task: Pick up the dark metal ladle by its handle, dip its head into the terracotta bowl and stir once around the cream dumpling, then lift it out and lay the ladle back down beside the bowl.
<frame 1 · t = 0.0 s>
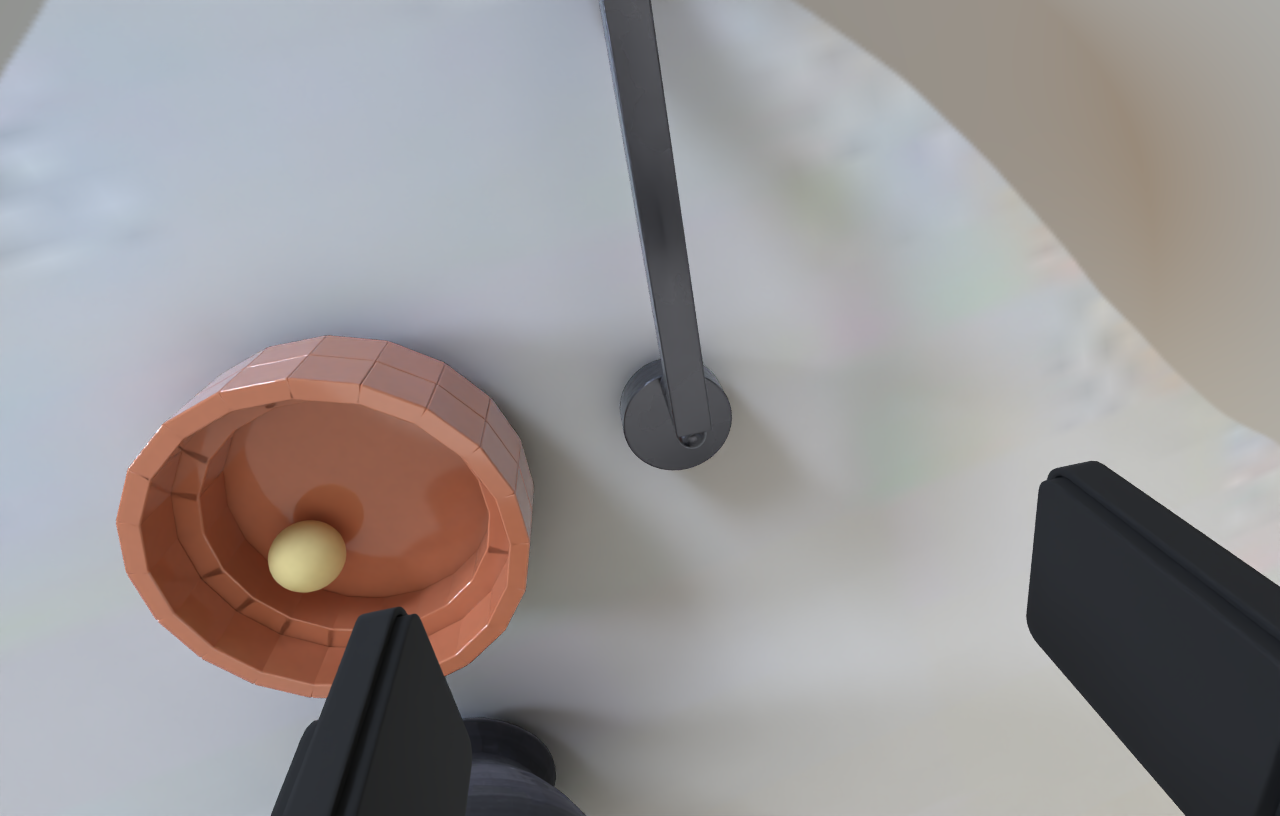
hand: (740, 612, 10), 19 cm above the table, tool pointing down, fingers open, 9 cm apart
ladle: (671, 405, 30), on the table
pitcher: (504, 774, 39), on the table
bowl: (366, 488, 30), on the table
dumpling: (307, 556, 29), point 2 cm above the table, touching bowl
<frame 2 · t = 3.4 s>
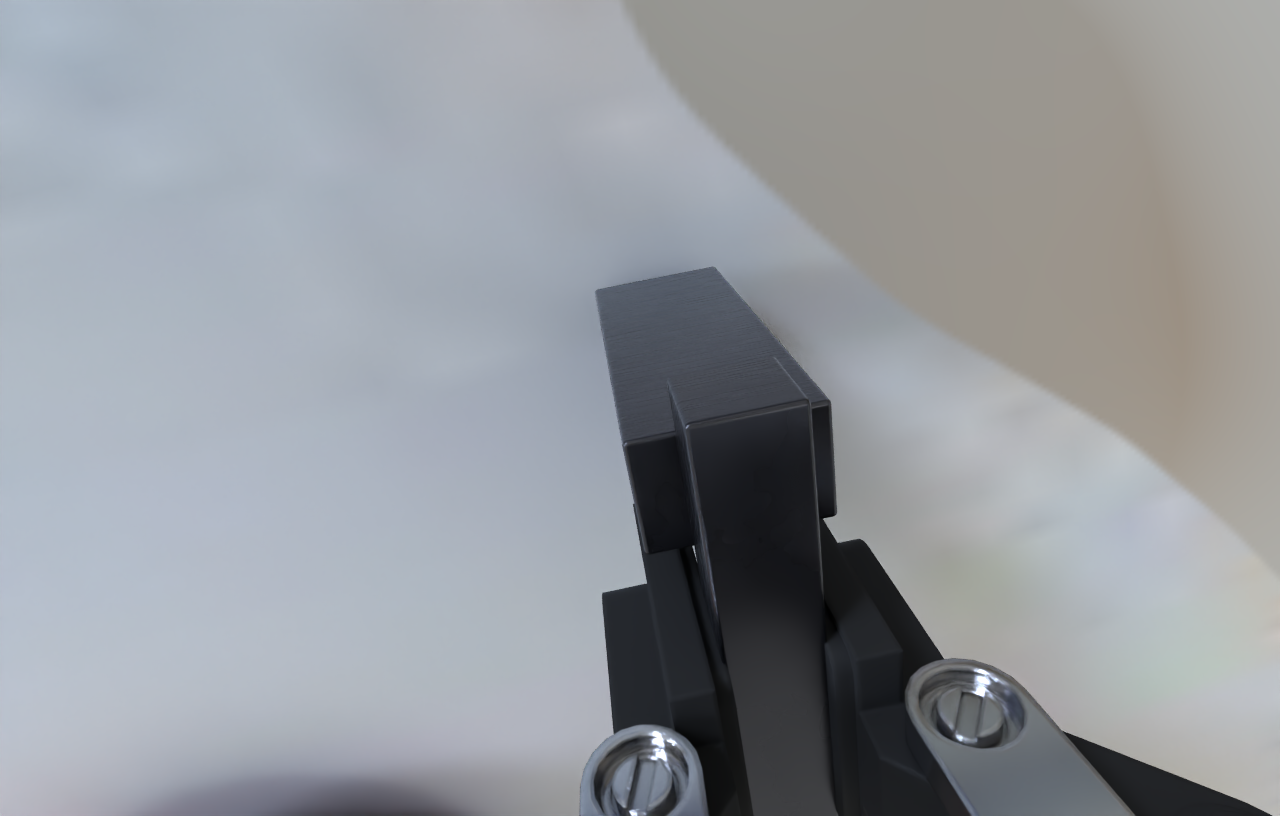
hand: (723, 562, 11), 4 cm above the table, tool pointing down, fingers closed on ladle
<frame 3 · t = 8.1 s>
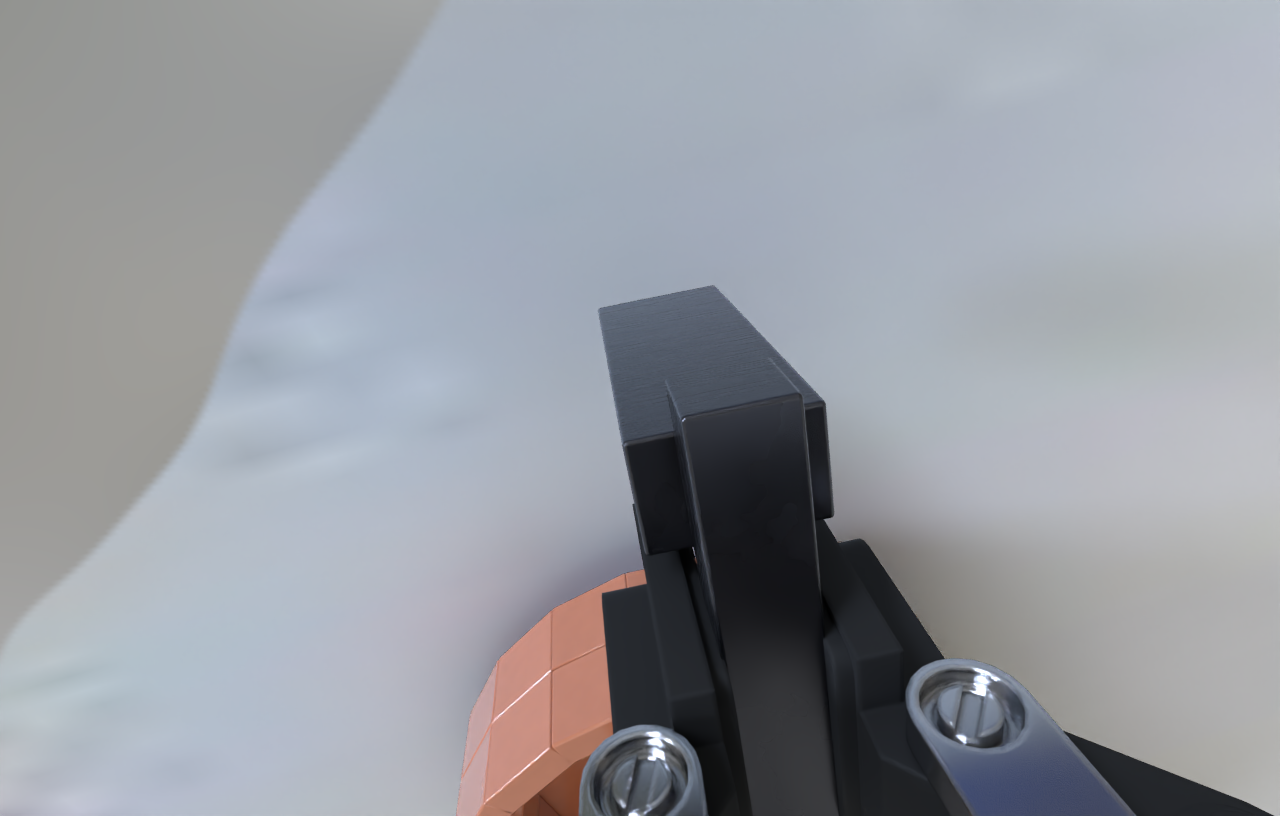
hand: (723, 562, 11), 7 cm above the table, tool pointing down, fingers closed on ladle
bowl: (698, 724, 23), on the table
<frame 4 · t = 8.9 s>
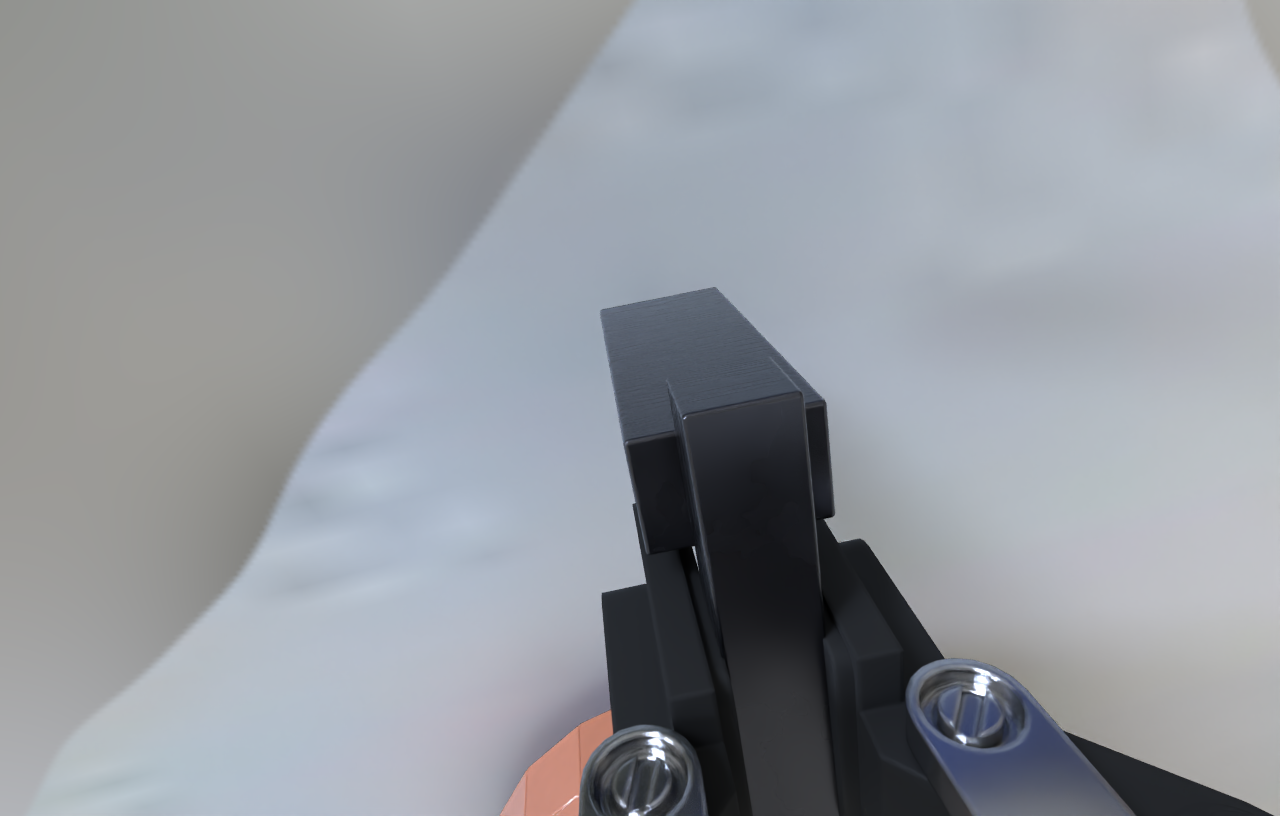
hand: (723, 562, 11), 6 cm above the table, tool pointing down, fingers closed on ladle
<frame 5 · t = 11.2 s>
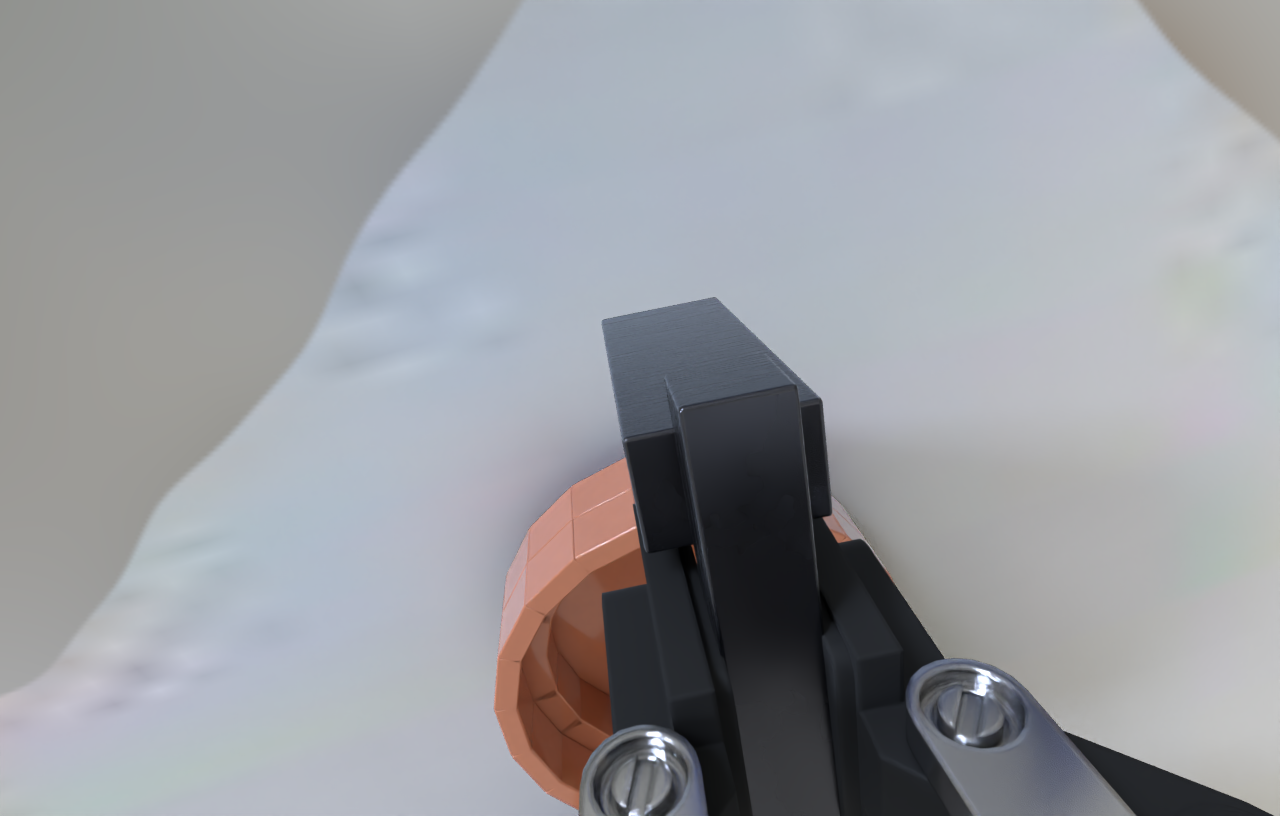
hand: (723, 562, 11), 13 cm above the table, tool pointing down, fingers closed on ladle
bowl: (684, 595, 28), on the table
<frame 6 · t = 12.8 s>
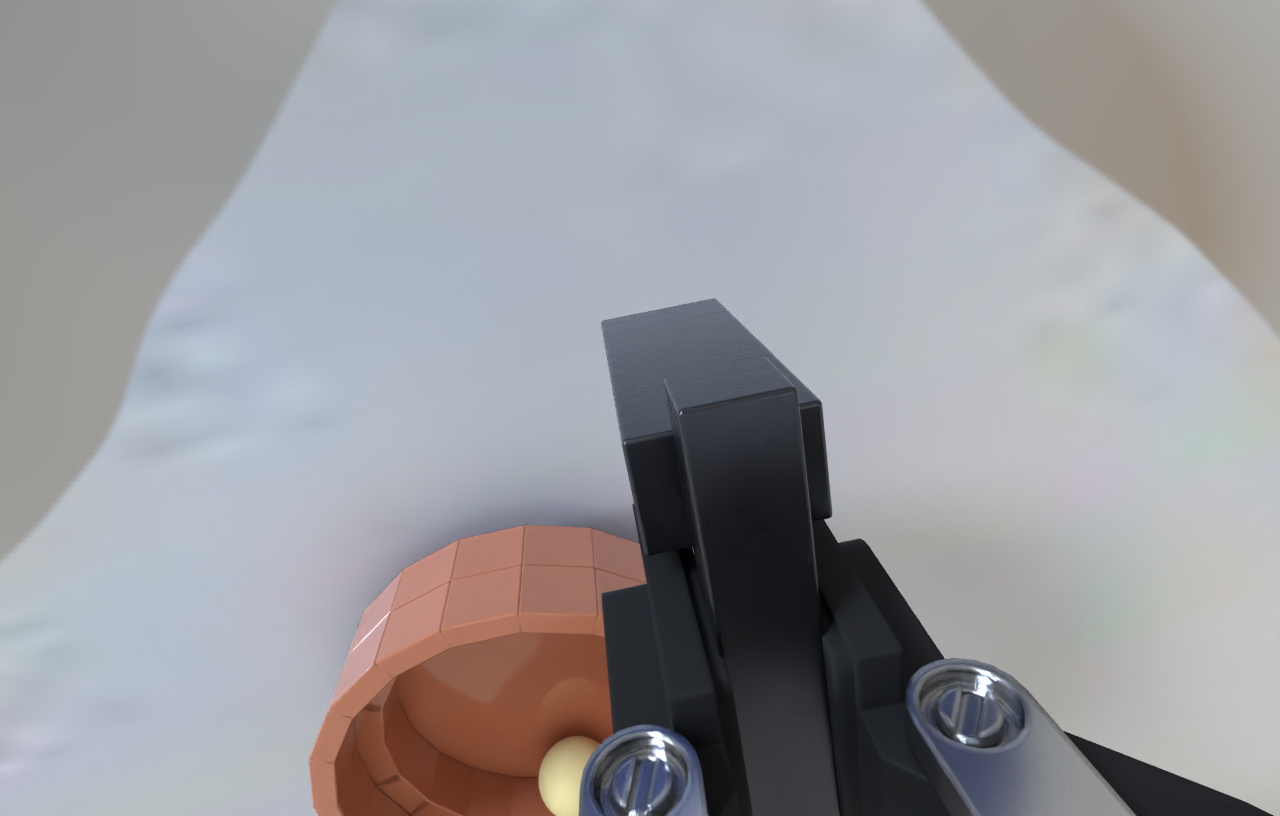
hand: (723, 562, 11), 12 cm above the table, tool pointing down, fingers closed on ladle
bowl: (543, 668, 27), on the table
dumpling: (576, 777, 27), point 2 cm above the table, tilted 164°, touching bowl
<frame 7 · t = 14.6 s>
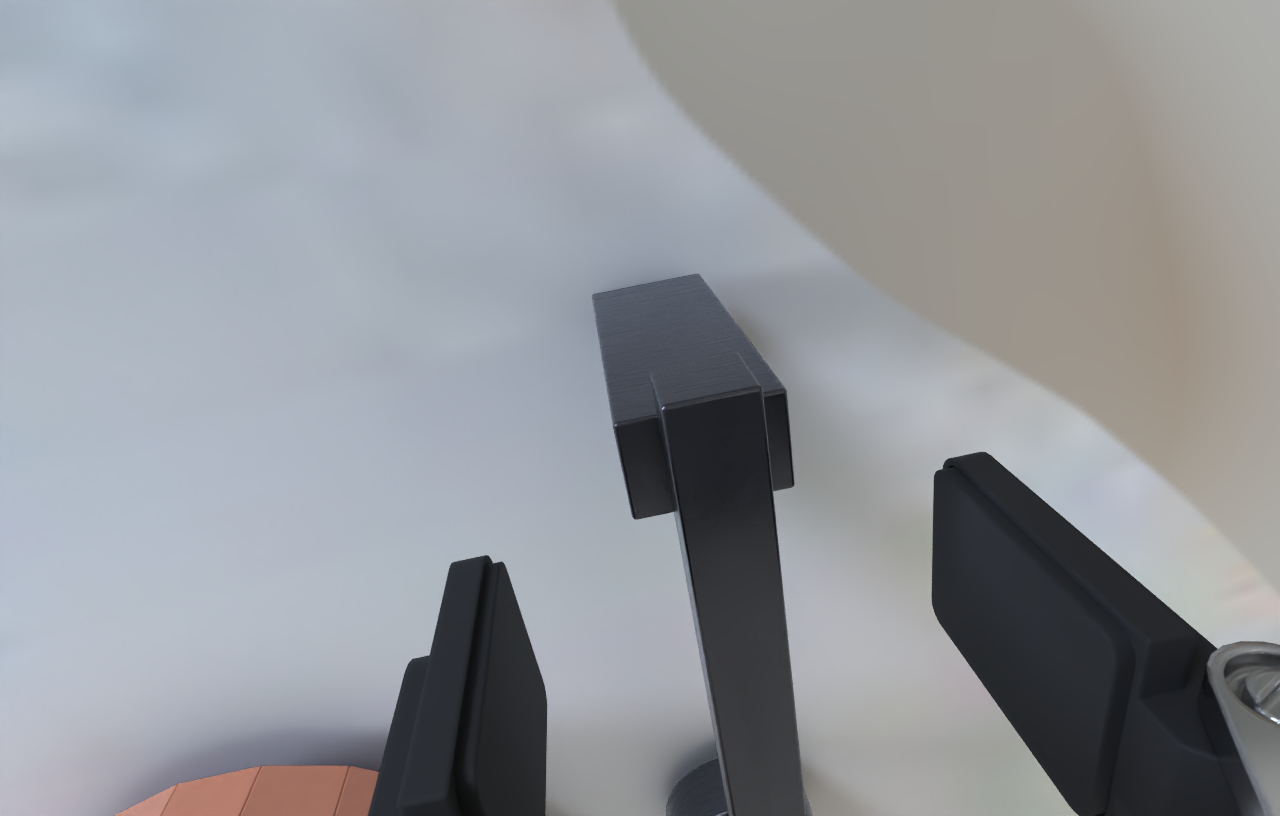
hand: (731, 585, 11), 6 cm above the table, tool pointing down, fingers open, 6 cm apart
ladle: (734, 801, 23), on the table
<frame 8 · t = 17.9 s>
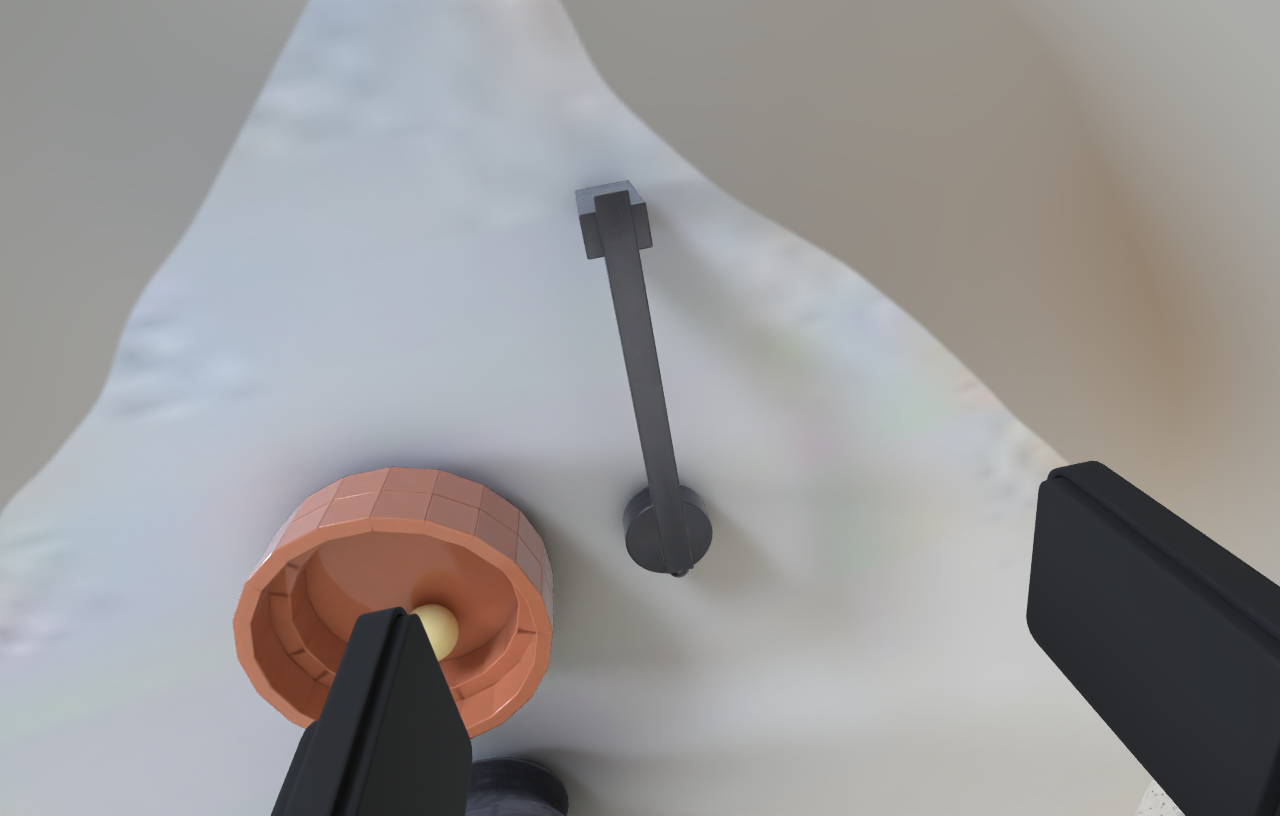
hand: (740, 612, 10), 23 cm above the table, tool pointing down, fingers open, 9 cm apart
ladle: (664, 518, 38), on the table
pitcher: (524, 803, 46), on the table
bowl: (417, 578, 37), on the table
dumpling: (429, 633, 36), point 2 cm above the table, tilted 95°, touching bowl
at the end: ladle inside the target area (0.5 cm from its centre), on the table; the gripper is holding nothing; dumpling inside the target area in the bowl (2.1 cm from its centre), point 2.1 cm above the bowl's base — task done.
